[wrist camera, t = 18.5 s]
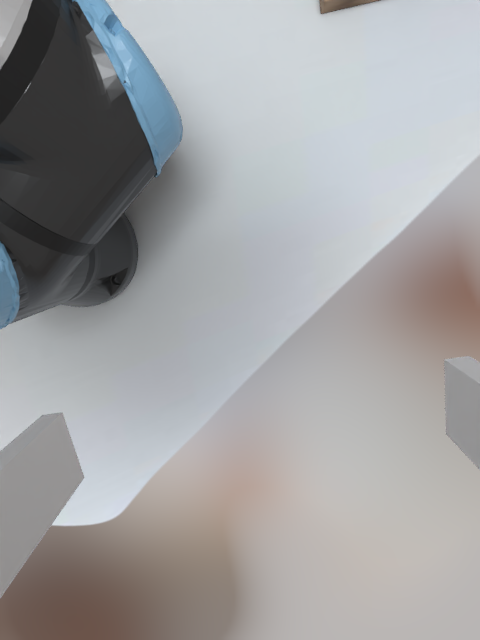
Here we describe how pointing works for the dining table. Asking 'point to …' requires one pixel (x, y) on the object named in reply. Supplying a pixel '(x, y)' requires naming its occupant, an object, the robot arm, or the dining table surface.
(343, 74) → the dining table surface
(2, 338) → the dining table surface
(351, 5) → the base
